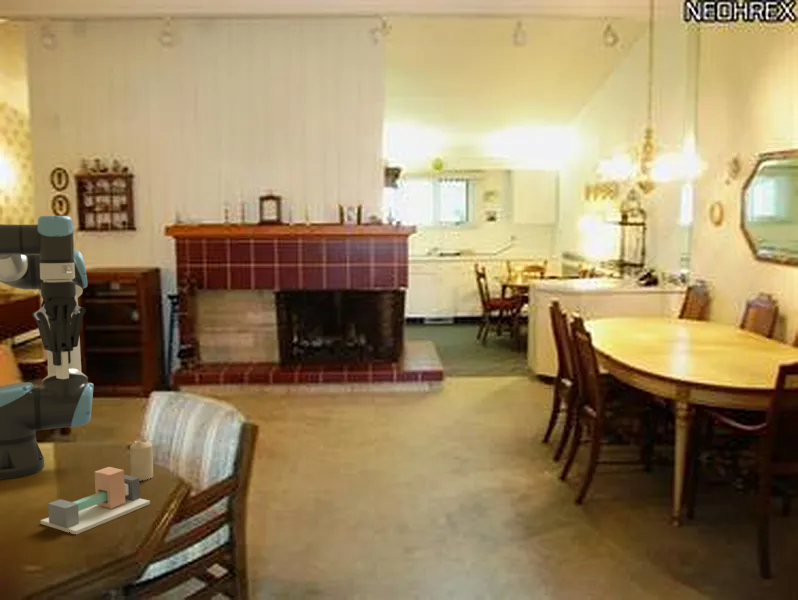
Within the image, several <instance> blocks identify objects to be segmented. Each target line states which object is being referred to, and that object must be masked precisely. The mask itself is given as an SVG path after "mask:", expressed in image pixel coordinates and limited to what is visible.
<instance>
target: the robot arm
mask: <svg viewBox="0 0 798 600" xmlns="http://www.w3.org/2000/svg"><path fill="white" fill-rule="evenodd" d="M73 225H74V224H73V219H72V217H71V216H69V215H41V216H39V217H38V219H37V224H3V223H2V224H1V223H0V283H2V284H4V285H7V286H9V287H12V288H16V289H20V290H39V295H40V297H41V298H42V302H41V305H40V308H39V309H38V310H37V311H33V312H32V313H31V315H32V318H33V319H34V320H35V321H36V325H37V329H38V332H39V336H40V339H41V343H42V346H43V349H44V351H46V352H47V353H46V354H47V375H46V377H44V378H43V379H42V386H41V387H39V386H38V387H34V386H35V385H34V383H32V382H30V381H27V382H17V383H16V382H15V383H11V384H7V385H3V386H0V480H10V479H16V478H23V477H25V476H30V475H34V474H35V473H38V472H40V471H42V470H43V469H44V468H45V457H44V456H43V452H42V451H41V449H40V446H39V443H38V442H37V436H36V431H41V430H53V429H63V428H74V427H79V426H85V425H87V424H89V422H91V419H92V407H93V399H94V398H93V395H94V383H92V382H89V379H88V376H87V375H86V374H84V373H83V372H82V361H81V360H82V357H81V356H82V355H81V339H80V335H81V333H80V332H81V329H82V323H83V321H82V320H83V316H85V313H86V308H85V307H83V306H82V307H81V306H79V301H78V300H79V299H78V298H79V297H81V295H83V292H84V291H83V290H84V289H85V288H87V287H88V277H87V270H86V266H85V265H86V264H85V261H84V257H83V254H82V253H81V251H79V250H77V249H74V248H75V247H74V246H75V245H74V244H75V243H74V226H73Z"/></svg>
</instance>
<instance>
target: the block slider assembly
mask: <svg viewBox="0 0 798 600" xmlns="http://www.w3.org/2000/svg"><path fill="white" fill-rule="evenodd" d="M124 483H125V503H124V504H121V505H119V506H116V507H114V508H107V507H103V506H100V505H96V504H99V503H102V502H104V501H107V491H102V492H99V493H93V494H91V495H88V496H85V497H83V498H80V499H78V500H73V501H69V500H65V499H61V498H59V499H57V500H54V501H51V502H48V503H47V506H48V508H47V509H48V517H46V518H42V519H40V525H44V526H47V527H50V528H53V529H55V530H60V531H63V532H66V533H69V532H70V533H69V534H73V535H75V534H76V535H79V534H81V533H84V532H86V531H88V530H91V529H93V528H96V527H98V526H101V525H103V524H105V523H108V522H111V521H113V520H115V519H118V518H119V517H122V516H125V515H127V514H129V513H132V512H134V511H137V510H140V509H141V508H144V507H146V506H149V505H150V504H151V500H148V499H144V498H141V496H140V495H141V494H140V493H141V491H140V490H141V489H140V481H139V478H137V477H133V476H131V475H128V474H124Z"/></svg>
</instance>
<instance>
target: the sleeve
mask: <svg viewBox="0 0 798 600" xmlns="http://www.w3.org/2000/svg"><path fill="white" fill-rule="evenodd" d="M124 475H125V470H124V469H121V468H117V467H116V468H115V467H112V466H107V467H104V468H102V469H98V470H95V471H94V488H95V489H94V491H95V493H94V494H96V493H99V492H102V491H107V501H104V502H102V503H99V504H96V505H100V506H103V507H107V508H114V507H116V506H119V505H121V504H124V503H125V483H124Z"/></svg>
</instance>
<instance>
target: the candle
mask: <svg viewBox="0 0 798 600" xmlns="http://www.w3.org/2000/svg"><path fill="white" fill-rule="evenodd" d="M129 456H130V457H129V458H130V476H133V477H137V478H139V482H140V481H141V482H143V481H147V479H148V480H150V478H151V479H152V478H153V477H154V460H153V444H152V443H151V442H150V441H149V440H147V439H145V438H142V439H141V438H140V439H138V440H134V441H133V443H131V445H130V446H129ZM142 480H143V481H142Z"/></svg>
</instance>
